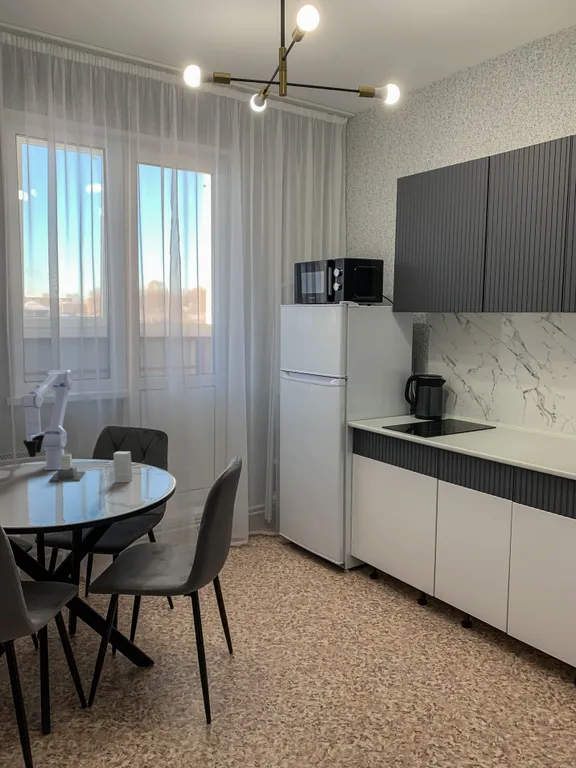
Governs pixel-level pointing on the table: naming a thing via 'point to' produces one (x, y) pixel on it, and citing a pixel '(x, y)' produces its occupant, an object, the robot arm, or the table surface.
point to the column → (66, 462)
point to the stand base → (67, 475)
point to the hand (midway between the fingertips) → (35, 454)
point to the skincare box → (122, 466)
